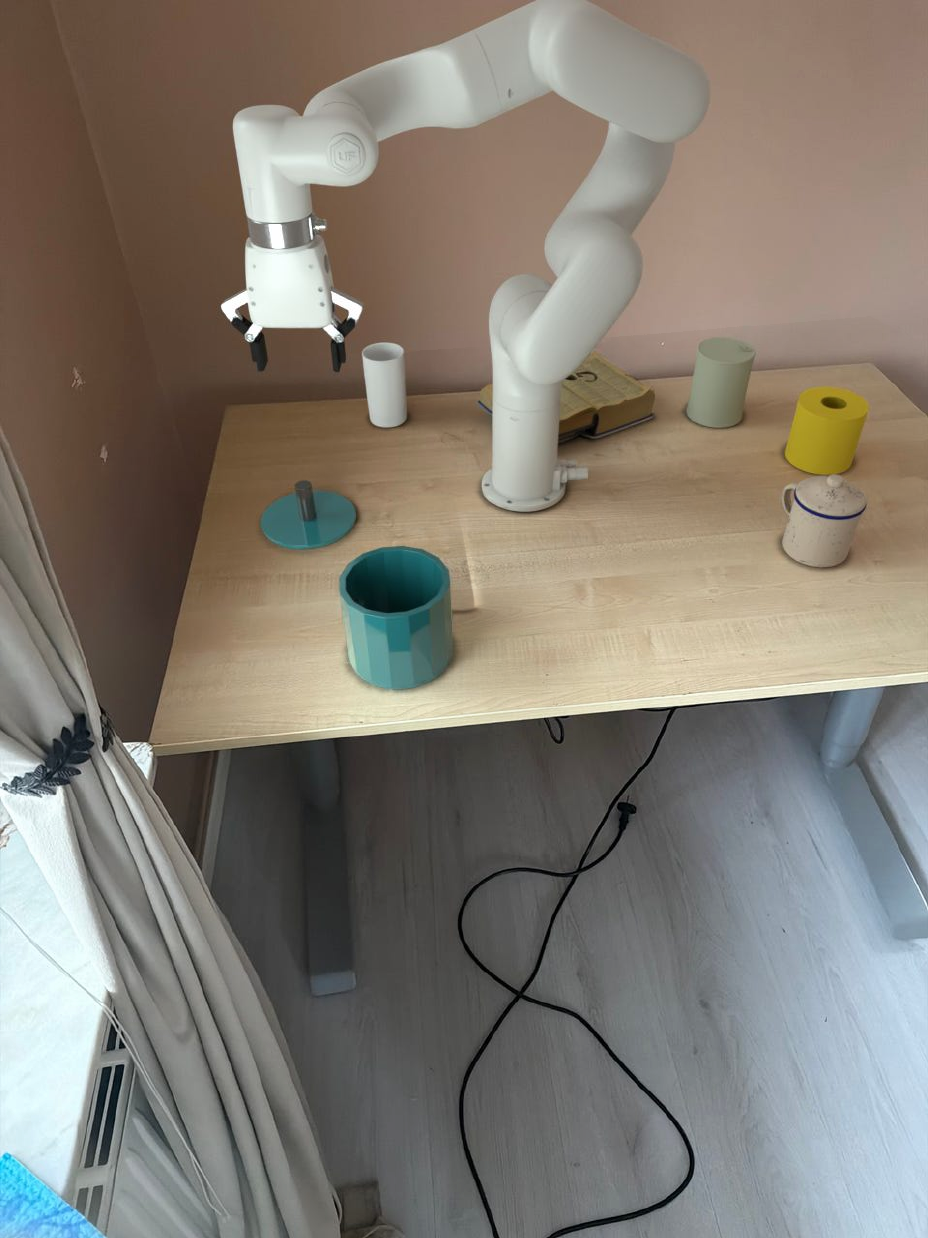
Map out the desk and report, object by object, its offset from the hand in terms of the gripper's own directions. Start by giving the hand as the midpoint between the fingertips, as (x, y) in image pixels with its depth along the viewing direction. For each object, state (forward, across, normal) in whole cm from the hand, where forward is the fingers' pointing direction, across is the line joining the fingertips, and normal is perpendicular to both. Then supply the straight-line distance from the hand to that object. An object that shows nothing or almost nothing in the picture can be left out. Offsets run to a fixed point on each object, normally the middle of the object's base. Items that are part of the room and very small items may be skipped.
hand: (300, 366), depth 115 cm
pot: (+24, -14, +28) cm, 39 cm away
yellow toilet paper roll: (+23, -76, -16) cm, 81 cm away
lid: (+23, +1, +2) cm, 23 cm away
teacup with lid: (+23, -69, +6) cm, 73 cm away
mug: (+24, -7, -30) cm, 39 cm away
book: (+23, -37, -29) cm, 52 cm away
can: (+23, -62, -30) cm, 73 cm away
